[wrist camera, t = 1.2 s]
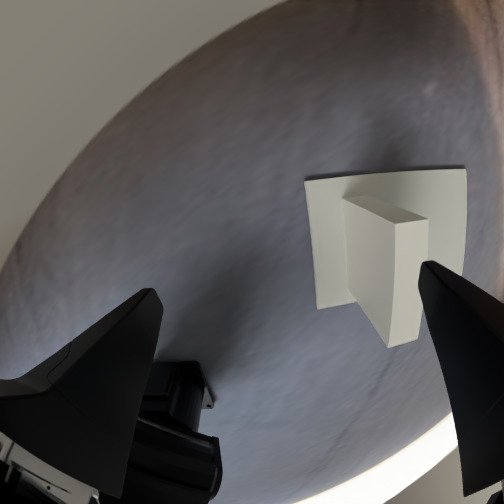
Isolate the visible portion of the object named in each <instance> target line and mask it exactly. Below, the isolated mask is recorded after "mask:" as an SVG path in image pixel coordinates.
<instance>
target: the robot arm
mask: <svg viewBox="0 0 504 504" xmlns="http://www.w3.org/2000/svg"><path fill="white" fill-rule="evenodd" d="M418 290H419V293H420V297H421V301H422V304H423V308H424V312H425V316H426V320H427V324H428V328H429V331H430V334H431V337H432V340H433V343H434V346H435V349H436V352H437V356H438V359H439V362H440V366H441V369H442V373H443V376H444V380H445V384H446V387H447V391H448V395H449V400H450V404H451V408H452V413H453V418H454V423H455V428H456V434H457V440H459V441H458V447H459V454H460V462H461V471H462V482H463V495H464V497H466V496H469V495H471V494H473V493H476V492H478V491H480V490H483V489H485V488H487V487H489V486H491V485H493V484H495V483H497V482H499V481H501V483H502V490H500V491H498V492H496V493H494V494H493V495H491V497H490V499H489V500H488V502H487V504H504V304H503V303H502V302H500V301H499V300H497V299H496V298H494V297H493V296H491V295H490V294H488V293H487V292H485V291H484V290H482V289H480V288H479V287H477V286H476V285H474V284H473V283H471V282H469V281H468V280H466V279H465V278H463V277H461V276H460V275H458V274H456V273H455V272H453V271H451V270H450V269H448V268H446V267H445V266H443V265H441V264H440V263H438V262H436V261H434V260H429V261H423V262H422V264H421V268H420V273H419V279H418ZM162 315H163V305H162V303H161V301H160V299H159V297H158V295H157V293H156V291H155V290H154V289H153V288H144V289H141V290H140V291H139V292H137V293H136V294H134V295H133V296H132V297H130V298H129V299H127V300H126V301H125V302H123V303H122V304H121V305H119V306H118V307H116V308H115V309H114V310H112V311H111V312H110V313H108V314H107V315H106V316H104V317H103V318H101V319H100V320H99V321H97V322H96V323H95V324H93V325H92V326H91V327H89V328H88V329H87V330H85V331H84V332H83V333H81V334H80V335H79V336H77V337H76V338H75V339H73V340H72V341H71V342H69V343H68V344H67V345H66V346H64V347H63V348H62V349H60V350H59V351H57V352H56V353H55V354H53V355H52V356H51V357H49V358H48V359H46V360H45V361H43V362H42V363H40V364H39V365H37V366H36V367H35V368H33V369H32V370H30V371H29V372H27V373H26V374H24V375H23V376H21V377H19V378H16V379H11V380H3V379H0V504H98V502H97V500H96V498H95V497H93V496H91V495H92V492H93V489H94V488H95V489H97V490H98V493H99V496H98V500H99V504H208V502H209V501H210V500H212V499H213V498H214V497H215V496H216V494H217V493H218V490H219V488H220V485H221V481H222V473H223V470H222V461H221V454H220V446H219V438H217V437H214V436H212V437H211V436H207V435H204V434H201V433H198V427H199V421H200V414H201V409H212V408H214V401H213V399H212V396H211V393H210V391H209V388H208V386H207V383H206V380H205V378H204V375H203V372H202V370H201V367H200V364H199V363H198V362H196V361H184V362H166V363H152V361H153V357H154V354H155V350H156V346H157V341H158V336H159V331H160V325H161V320H162ZM193 366H196V367H193ZM209 404H210V405H209Z"/></svg>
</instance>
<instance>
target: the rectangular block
mask: <svg viewBox="0 0 504 504" xmlns="http://www.w3.org/2000/svg"><path fill="white" fill-rule="evenodd" d="M342 208H343V220H344V233H345V250H346V273H347V288H348V290H349V291H350V292H351V294H352V295H353V297H354V298H355V300H356V301H357V303H358V304H359V305H360V307H361V308H362V310H363V311H364V313H365V314H366V316H367V317H368V319H369V320H370V322H371V323H372V324H373V326H374V327H375V329H376V330H377V332H378V333H379V335H380V337H381V338H382V340H383V341H384V343H385V344H386V346H387V347H388V348H390V347H393V346H397V345H400V344H403V343H407V342H410V341H413V340H416V339H418V334H419V328H420V323H421V316H422V309H423V304H422V301H421V297H420V293H419V290H418V279H419V273H420V268H421V264H422V262H423V261H428V244H429V219H428V218H425V217H423V216H420V215H418V214H415V213H413V212H410V211H408V210H405V209H403V208H400V207H397V206H395V205H392V204H390V203H387V202H384V201H381V200H379V199H376V198H373V197H370V196H367V195H365V196H357V197H349V198H342Z"/></svg>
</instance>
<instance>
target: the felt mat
mask: <svg viewBox="0 0 504 504" xmlns="http://www.w3.org/2000/svg"><path fill="white" fill-rule="evenodd" d="M304 186H305V193H306V201H307V209H308V218H309V227H310V236H311V246H312V256H313V267H314V279H315V292H316V306H317V309H323V308H328V307H333V306H338V305H344V304H348V303H353V302H357V301H356V300H355V298H354V297H353V295H352V294H351V292H350V291H349V290H348V288H347V273H346V250H345V233H344V220H343V208H342V198H349V197H357V196H365V195H367V196H370V197H373V198H376V199H379V200H381V201H384V202H387V203H390V204H392V205H395V206H397V207H400V208H403V209H405V210H408V211H410V212H413V213H415V214H418V215H420V216H423V217H425V218H428V219H429V244H428V261H429V260H434V261H436V262H438V263H440V264H441V265H443V266H445V267H446V268H448V269H450V270H451V271H453V272H455V273H456V274H458V275H460V276H461V275H462V270H463V262H464V252H465V240H466V221H467V180H466V169H438V170H417V171H401V172H387V173H375V174H363V175H353V176H343V177H334V178H325V179H317V180H309V181H304Z"/></svg>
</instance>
